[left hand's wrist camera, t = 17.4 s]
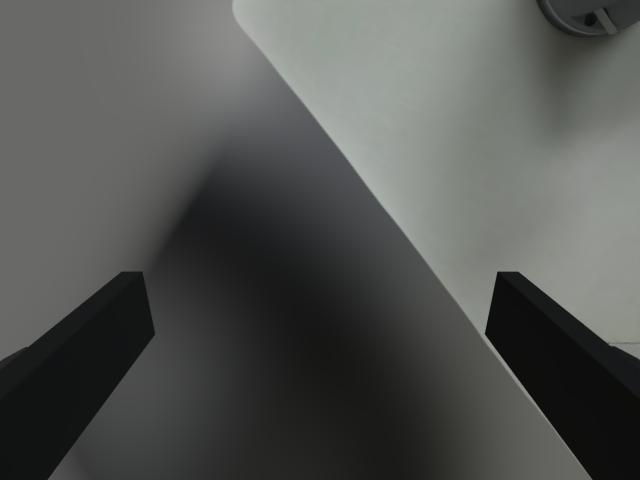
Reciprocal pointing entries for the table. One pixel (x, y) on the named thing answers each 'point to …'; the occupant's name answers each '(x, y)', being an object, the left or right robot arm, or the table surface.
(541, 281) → the table surface
